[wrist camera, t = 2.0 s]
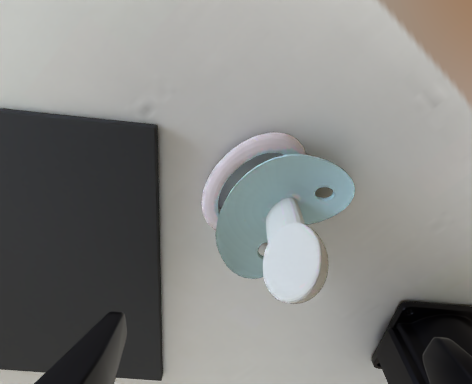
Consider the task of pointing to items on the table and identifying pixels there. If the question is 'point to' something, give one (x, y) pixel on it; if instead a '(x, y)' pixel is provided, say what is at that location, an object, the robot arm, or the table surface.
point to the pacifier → (276, 214)
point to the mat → (78, 238)
